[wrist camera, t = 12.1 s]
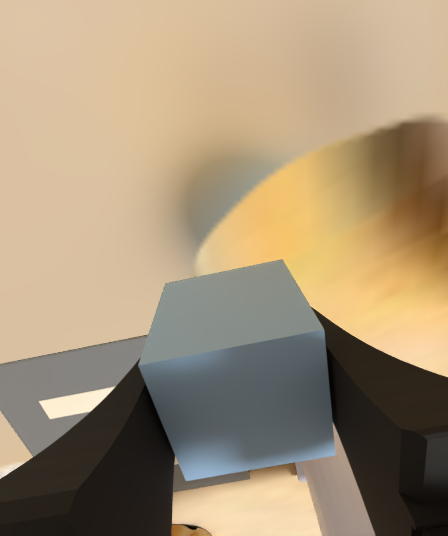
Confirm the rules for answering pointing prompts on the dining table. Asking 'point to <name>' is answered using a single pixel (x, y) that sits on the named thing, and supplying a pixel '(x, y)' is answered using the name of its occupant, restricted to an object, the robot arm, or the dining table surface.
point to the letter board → (73, 395)
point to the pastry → (187, 531)
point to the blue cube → (239, 372)
